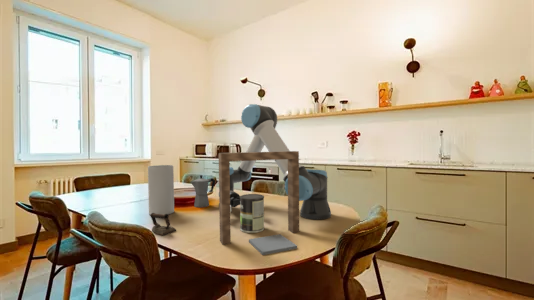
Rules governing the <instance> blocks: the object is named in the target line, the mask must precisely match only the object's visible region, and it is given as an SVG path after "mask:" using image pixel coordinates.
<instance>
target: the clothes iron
mask: <svg viewBox="0 0 534 300" xmlns="http://www.w3.org/2000/svg"><path fill="white" fill-rule="evenodd" d="M150 218H151V220H152V224H153V227H152V228H151V232H152V233H153V234H155V235H157V236H160V237H165V236H167V235H170V234H173V233H176V232H177V229H176V228H175V227H174V226H171V222H170V220H169V214H155V213H152V214H151V215H150ZM157 219H163V220H164V221H165V224H166V225H161V224H159V222H157Z"/></svg>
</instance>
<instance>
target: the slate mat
mask: <svg viewBox="0 0 534 300" xmlns="http://www.w3.org/2000/svg"><path fill="white" fill-rule="evenodd" d="M248 243H249V244H251V246H252V247H253V248H254V249H255V250H257V251H258V252H259V254H260V255H262V256H266V255H270V254H271V255H272V254H275V253H281V252H286V251H292V250H296V249H298V245H297V244H295V243H294V242H293V241H291V240H290V239H288V238H287V237H285V236H284V235H282V234H281V233H280V234H279V233H278V234H273V235H267V236H261V237H255V238H250V239H248Z"/></svg>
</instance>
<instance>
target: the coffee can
mask: <svg viewBox="0 0 534 300" xmlns="http://www.w3.org/2000/svg"><path fill="white" fill-rule="evenodd" d="M264 201H265V196H264V194H260V193H259V194H258V193H248V194H247V193H246V194H242V195H240V205H239V206H240V207H239V209H240V211H239V212H240V213H239V218H240V228H239V229H240V231H241V232H242V233H247V234H257V233H261V232H263V231H264V230H265V210H264V209H265V206H264V205H265V202H264Z"/></svg>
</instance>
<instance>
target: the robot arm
mask: <svg viewBox="0 0 534 300" xmlns="http://www.w3.org/2000/svg"><path fill="white" fill-rule="evenodd" d="M240 119H241V123H242V125H243V126H244V127H245V128H247V129H250V130H251V131H252V133H253V135H254V136H253V137H252V140H251V142H250V144H249V145H248V148H247V150H246V152H263V149H264V146H265V148H266V149H267V150H268V151H267V152H281V151H290V149H289V148H288V146H287V144H286V143H285V142H284V140H283V138H282V137H281V136H280V134H279V133H278V131H277V130H276V128H277V125H278V115H277V112H276V111H275V109H273V108H272V107H270V106H265V105H261V104H258V103H257V104H255V103H250V104H247V105H246V106H245V107H244V108H243V110H242V112H241V117H240ZM256 162H257V160H255V161H240V164H239V165H238V167H237V169H234V168H233V166H232V167H231V166H230V213H232V208H236V207H238V206H240V196H241V195H240V194H239V193H237V192H236V191H234V190H235V186H234V185H235V184H236V183H241V182H242V183H243V182H247V181H249V180H251V178H252V170H253V168H254V165H255V164H256ZM274 162H275V163H276V165H277V167H278V168H279V170H280V171H281V173H282V175H283V177H282V180H283V182H284V191H285V193H286V195H287V196H288V159H280V160H274ZM301 201H302V205H301V208H300V209H299V216H301V217H302V218H304V219H309V220H325V219H330V218H331V217H332V210H331V208H330V205H329V202H328V172H327V171H326V170H324V169H323V170H322V169H310V168H306V167H305V165H301V164H299V202H301Z"/></svg>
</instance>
